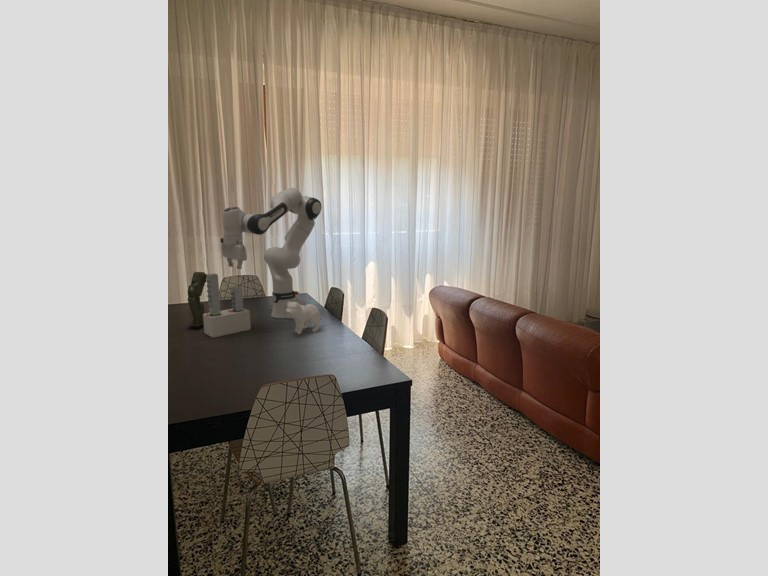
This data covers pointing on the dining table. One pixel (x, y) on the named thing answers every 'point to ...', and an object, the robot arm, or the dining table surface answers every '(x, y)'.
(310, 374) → the dining table surface
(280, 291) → the robot arm
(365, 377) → the dining table surface
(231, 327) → the frame
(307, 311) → the white animal figurine
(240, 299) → the column
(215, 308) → the column
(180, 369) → the dining table surface
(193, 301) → the mechanical leg
